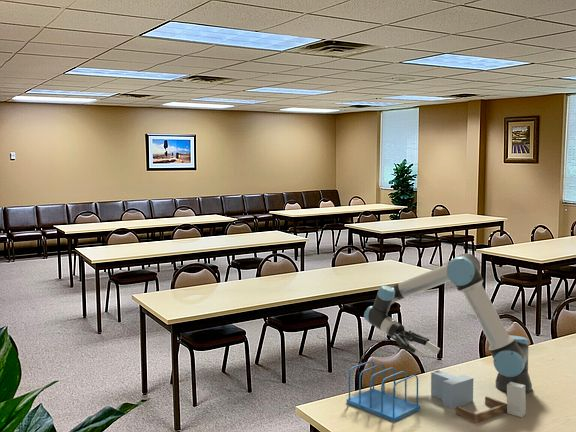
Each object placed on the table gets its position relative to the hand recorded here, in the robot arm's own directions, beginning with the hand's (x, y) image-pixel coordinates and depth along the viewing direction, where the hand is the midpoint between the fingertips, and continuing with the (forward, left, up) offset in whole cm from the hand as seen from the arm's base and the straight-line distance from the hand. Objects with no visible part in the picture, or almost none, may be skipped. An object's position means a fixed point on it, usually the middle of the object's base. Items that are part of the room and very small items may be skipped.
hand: (430, 353), depth 252 cm
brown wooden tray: (-1, +25, -18) cm, 31 cm away
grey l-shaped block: (-1, +9, -18) cm, 20 cm away
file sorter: (+27, -1, -18) cm, 32 cm away
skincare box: (-11, +35, -18) cm, 41 cm away
